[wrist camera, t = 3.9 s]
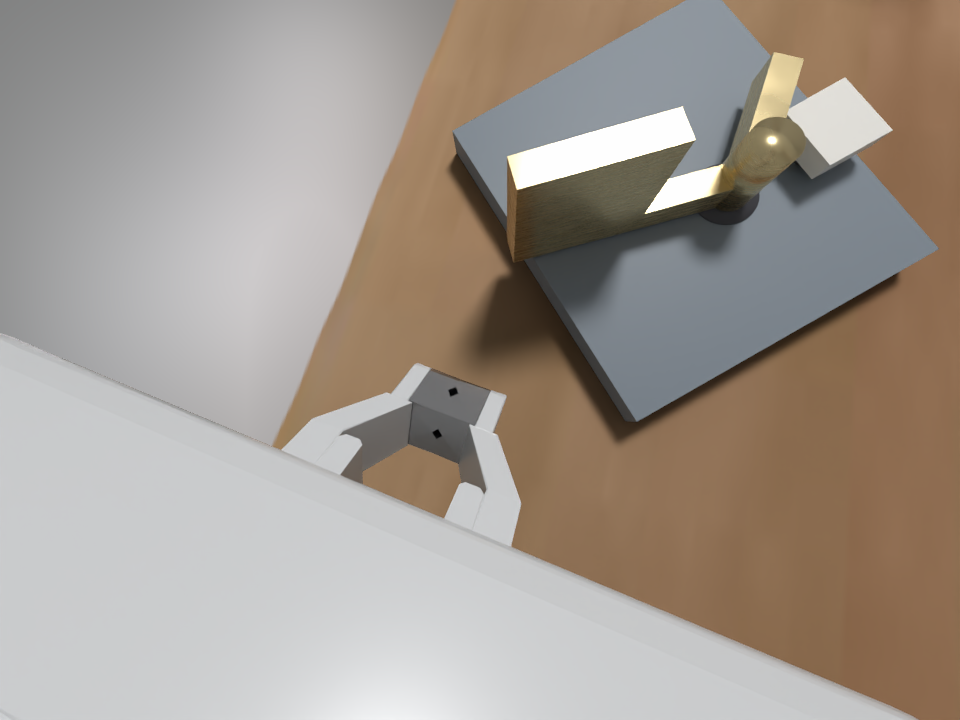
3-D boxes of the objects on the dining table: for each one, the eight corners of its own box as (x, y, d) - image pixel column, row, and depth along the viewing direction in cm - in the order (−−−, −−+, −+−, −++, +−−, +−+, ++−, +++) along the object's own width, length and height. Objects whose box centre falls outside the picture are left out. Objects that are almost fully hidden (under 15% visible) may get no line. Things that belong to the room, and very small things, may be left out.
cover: (826, 96, 21) (845, 77, 20) (870, 146, 21) (892, 130, 20) (769, 127, 21) (784, 111, 20) (811, 179, 21) (830, 165, 20)
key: (757, 85, 22) (873, -67, 15) (822, 161, 21) (978, 36, 14) (495, 233, 22) (490, 148, 15) (547, 317, 21) (568, 268, 14)
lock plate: (694, 19, 26) (710, -15, 24) (900, 263, 22) (941, 248, 20) (456, 152, 26) (452, 129, 24) (625, 421, 22) (637, 421, 20)
